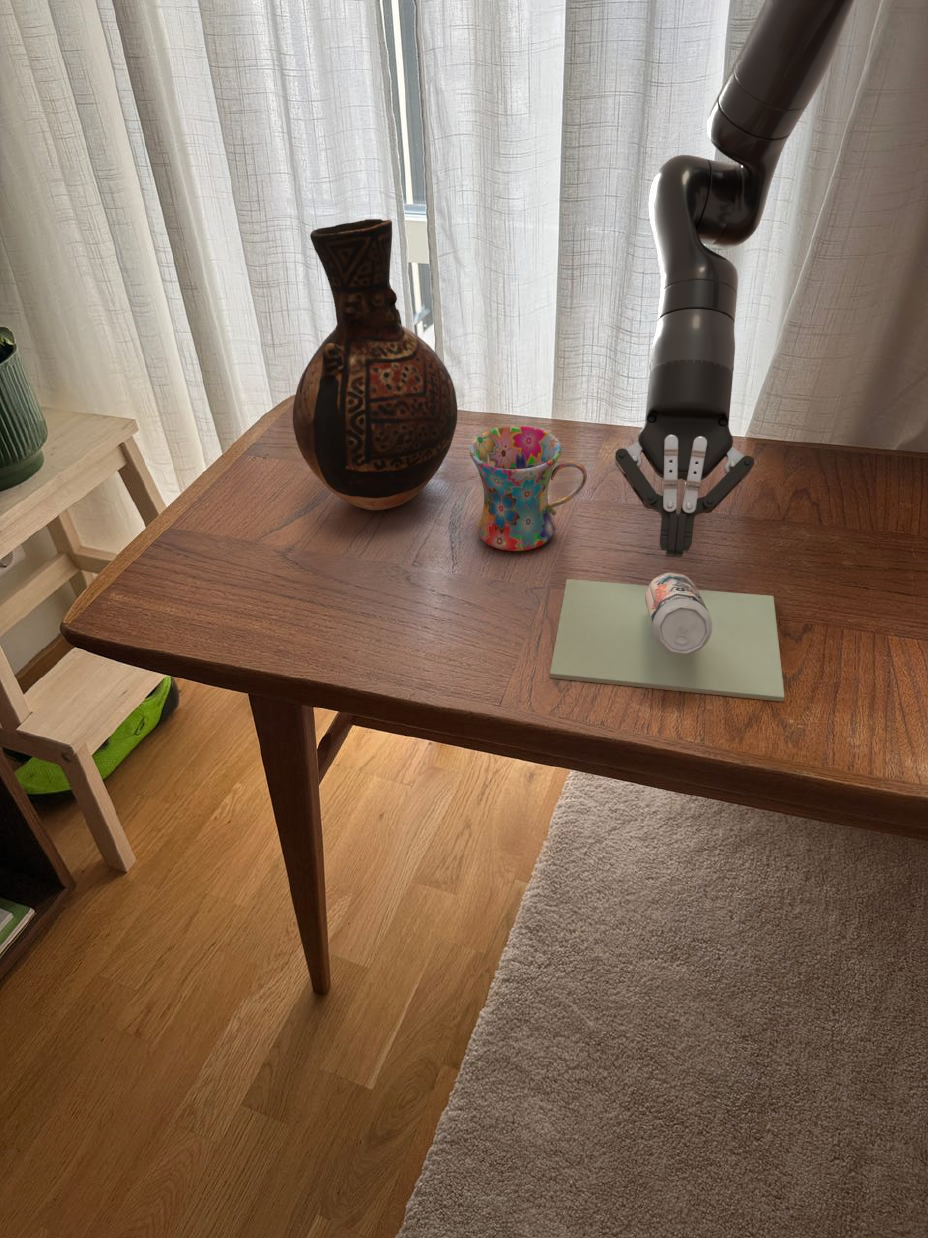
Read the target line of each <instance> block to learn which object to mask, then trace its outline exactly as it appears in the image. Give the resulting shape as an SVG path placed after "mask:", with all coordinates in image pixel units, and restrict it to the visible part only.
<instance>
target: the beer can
mask: <svg viewBox="0 0 928 1238" xmlns="http://www.w3.org/2000/svg"><path fill="white" fill-rule="evenodd" d="M647 586H648V588H647V590H646V593H645V602H646V606H647V609H648V613H649V617H650V621H651V625H652V630H653V635H654V638H655V640H656V642H657V643H658V644H659V645H660V646H661V648H663V649H664V650H666V651H667V652H669V653H672V654H675V655H688V654H692V653H694V652H696V651H698V650H700V649H701V648H702V647H704V646H705V644H706V643H707V642H708V640H709V639H710V636H711V633H712V619H711V616H710V614H709V612H708V610H707V608H706V606H705V604H704V602H703V600H702V598H701V596H700V594H699V592H698V590H699V589H698V587H697V586H696V585H695V583H694V582H693V580H691V578H690V577H688V576H686V575H685V574H683V573H679V572H665V573H661V574H659V575H658V576H655V578H654V579H652V580H651V581H650V583H649V584H648V585H647Z"/></svg>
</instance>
